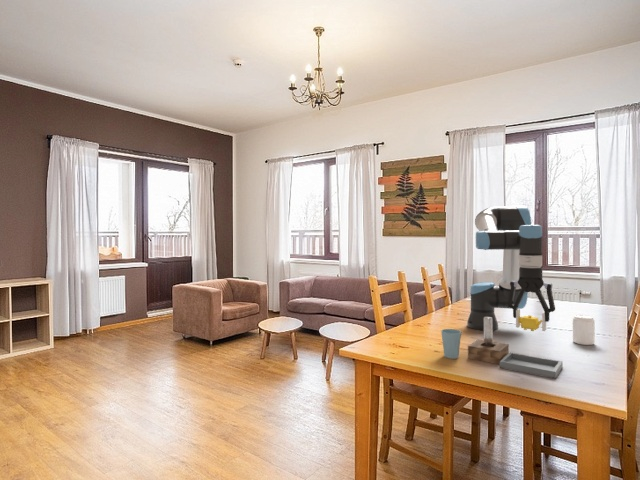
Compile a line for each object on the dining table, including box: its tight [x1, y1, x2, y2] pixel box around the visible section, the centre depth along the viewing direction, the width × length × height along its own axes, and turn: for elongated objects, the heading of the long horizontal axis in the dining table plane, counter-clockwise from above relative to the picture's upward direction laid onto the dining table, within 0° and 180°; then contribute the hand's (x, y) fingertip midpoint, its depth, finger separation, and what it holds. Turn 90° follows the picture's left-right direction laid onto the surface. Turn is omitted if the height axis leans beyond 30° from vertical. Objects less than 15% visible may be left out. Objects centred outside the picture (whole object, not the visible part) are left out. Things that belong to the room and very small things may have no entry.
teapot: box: [519, 315, 542, 332], centre depth 145 cm, size 8×6×5 cm
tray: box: [499, 351, 564, 380], centre depth 145 cm, size 18×14×2 cm
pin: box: [483, 317, 494, 347], centre depth 157 cm, size 3×3×14 cm
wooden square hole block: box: [467, 338, 510, 365], centre depth 157 cm, size 12×12×5 cm
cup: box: [440, 328, 462, 360], centre depth 159 cm, size 8×8×10 cm
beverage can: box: [572, 314, 596, 346], centre depth 175 cm, size 8×8×12 cm
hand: (530, 328), depth 145 cm, fingers closed on teapot, 8 cm apart
